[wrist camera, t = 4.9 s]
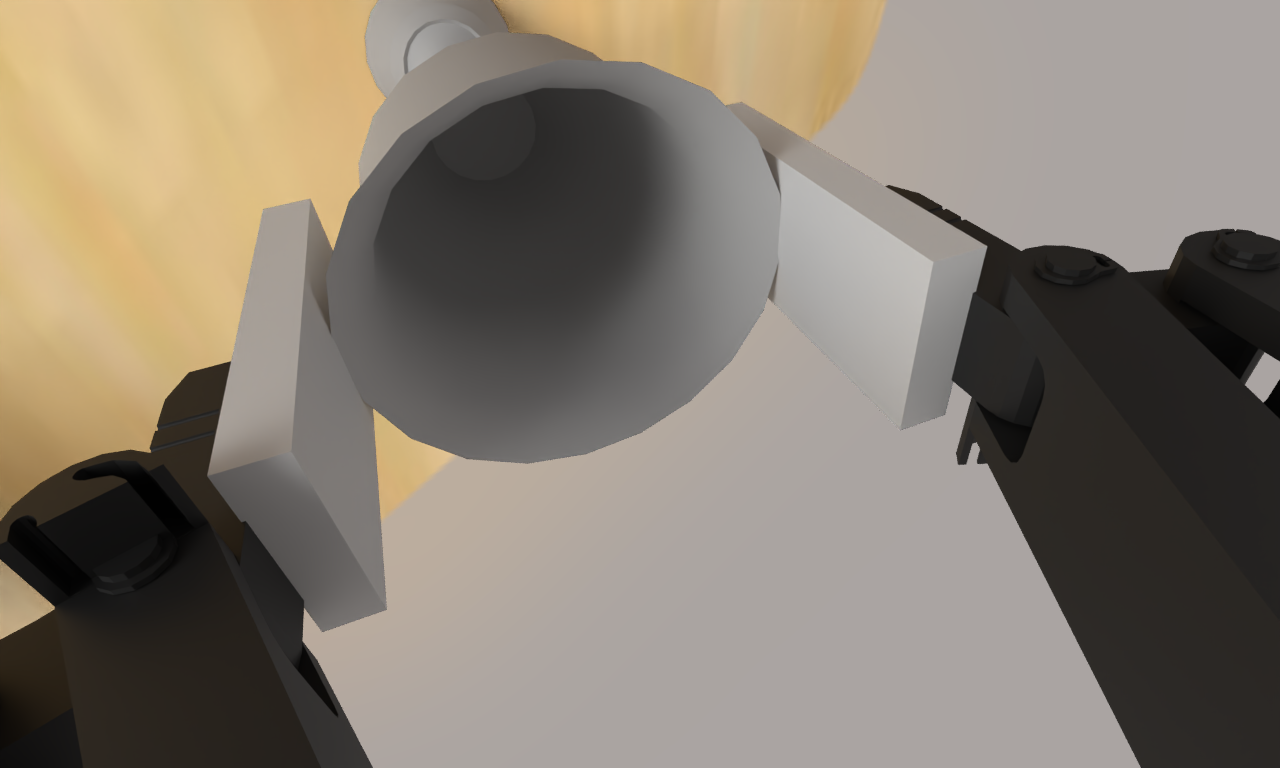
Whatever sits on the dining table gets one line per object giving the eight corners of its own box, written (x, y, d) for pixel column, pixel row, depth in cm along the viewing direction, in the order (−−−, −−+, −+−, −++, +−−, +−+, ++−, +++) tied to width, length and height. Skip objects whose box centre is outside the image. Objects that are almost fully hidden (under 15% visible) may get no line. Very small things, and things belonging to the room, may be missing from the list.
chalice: (491, -99, 22) (735, -38, 9) (569, 102, 27) (809, 347, 13) (285, -5, 22) (201, 211, 8) (399, 183, 26) (467, 521, 13)
